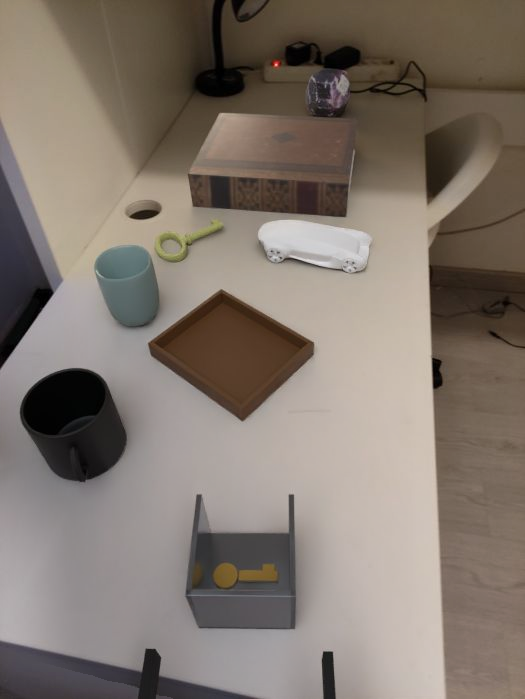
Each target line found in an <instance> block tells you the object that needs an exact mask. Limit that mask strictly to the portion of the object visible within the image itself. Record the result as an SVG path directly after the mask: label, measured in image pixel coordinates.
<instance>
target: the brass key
mask: <svg viewBox="0 0 525 699" xmlns="http://www.w3.org/2000/svg"><path fill="white" fill-rule="evenodd" d="M213 579H214V582H215V584H216V586H217V587H219V588H220V589H230V588H232V587H233V586H234V585H235V584H236V582H237V580H238V572H237V569H236V568H235V566H233V565H232V564H230V563H223V564H220V565H219V566H218V567H217V568H216V569H215V571H214V574H213ZM239 582H278V571H275V564H263V570H239Z"/></svg>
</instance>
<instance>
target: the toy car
mask: <svg viewBox="0 0 525 699" xmlns="http://www.w3.org/2000/svg"><path fill="white" fill-rule="evenodd" d="M257 238H258V240H259V243H261V244H262V245H263V250H264V252H265V254H266V257H267V259H268V260H269V261H270V262H272V263H277V264H278V263H281V262H283V261H284V259H296V260H299V261H301V262H305V263H309V264H312V265H316V266H319V267H323V268H328V269H335V270H336V269H337V270H343V271H344V272H346V273H348V274H353V273H357V272H360V271H362V270H364V269H365V268H366V266H367V264H368V258H369V254H370V248H369V246H370V245H371V243H372V241H373V237H372V235H370V234H369V233H368V232H365V231H362V230H360V229H352V228H346V227H339V226H333V225H327V224H323V223H319V222H318V223H317V222H312V221H307V220H301V219H279V220H278V219H277V220H272V221H271V220H270V221H267V222H265V223H264V224H262V225H261V226H260V228H259V230H258V232H257Z"/></svg>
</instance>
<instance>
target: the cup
mask: <svg viewBox="0 0 525 699" xmlns="http://www.w3.org/2000/svg"><path fill="white" fill-rule="evenodd" d="M154 265H155V264H154V262H153V258H152V255H151V254H150V252H149V250H147V249H146V248H145V247H143V246H140V245H137V244H122V245H117V246H114V247H111V248H110V247H109V248H108V249H106V250H104V251H102V252H101V253H100V254H99V255H98V256H97V257H96V259H95V261H94V264H93V270H94V275H95V279H96V281H97V285H98V288H99V290H100V293H101V296H102V298H103V300H104V303H105V305H106V308H107V310H108V311H109V314H110V315H111V316H112V318H113V319H114V320H115V321H116V322H117V323H119V324H121V325H122V326H126V327H140V326H143V325H146V324H148V323H150V322H151V321H152V320H153V319H154V318H155V317H156V316H157V314H158V311H159V308H160V290H159V284H158V279H157V274H156V270H155V266H154Z"/></svg>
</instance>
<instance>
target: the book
mask: <svg viewBox="0 0 525 699" xmlns="http://www.w3.org/2000/svg"><path fill="white" fill-rule="evenodd" d="M358 121H359V118H351V117H350V118H349V117H324V116H306V115H305V116H303V115H302V116H301V115H283V114H282V115H280V114H255V113H234V112H219V114H218V116H217V118H216V120H215V121H214V123H213V125H212V127H211V129H210V130H209V133H208V135H207V136H206V138H205V140H204V142H203V144H202V146H201V147H200V150H199V152H198V153H197V155H196V157H195V159H194V161H193V163H192V165H191V167H190V168H189V170H188V172H187V178H188V185H189V191H190V198H191V204H192V208H193V207H196V208H209V209H223V210H239V211H251V212H265V213H266V212H268V213H279V214H280V213H281V214H296V215H309V216H326V217H339V218H347V213H348V212H347V211H348V206H349V199H350V198H349V197H350V190H351V183H352V176H353V168H354V160H355V155H356V154H355V153H356V150H355V143H356V136H357V128H358Z"/></svg>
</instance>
